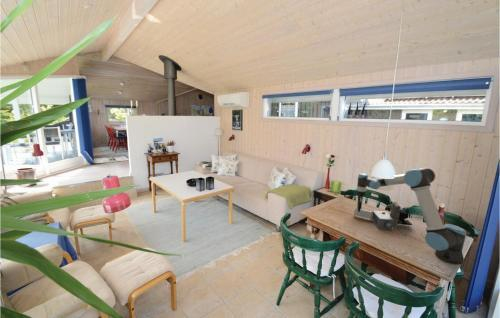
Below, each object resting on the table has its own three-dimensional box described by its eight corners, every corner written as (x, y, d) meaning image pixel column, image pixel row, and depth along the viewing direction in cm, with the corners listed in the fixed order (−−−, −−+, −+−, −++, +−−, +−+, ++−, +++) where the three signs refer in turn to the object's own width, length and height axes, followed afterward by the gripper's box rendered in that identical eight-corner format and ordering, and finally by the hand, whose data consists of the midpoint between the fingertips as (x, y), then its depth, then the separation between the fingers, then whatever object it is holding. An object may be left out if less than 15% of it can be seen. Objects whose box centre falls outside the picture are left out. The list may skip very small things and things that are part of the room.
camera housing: (393, 231, 197) (395, 220, 195) (379, 229, 199) (380, 218, 197) (384, 220, 215) (386, 210, 213) (371, 219, 217) (372, 209, 215)
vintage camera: (412, 229, 201) (416, 207, 197) (392, 227, 204) (396, 205, 199) (407, 224, 210) (411, 203, 206) (388, 222, 213) (392, 201, 209)
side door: (353, 216, 223) (354, 208, 222) (353, 215, 225) (354, 207, 223) (371, 220, 215) (372, 212, 214) (371, 219, 217) (372, 211, 215)
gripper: (366, 193, 206) (363, 218, 212) (364, 188, 218) (361, 212, 224) (357, 192, 209) (354, 217, 214) (356, 187, 221) (353, 211, 226)
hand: (358, 214), depth 219 cm, fingers closed
